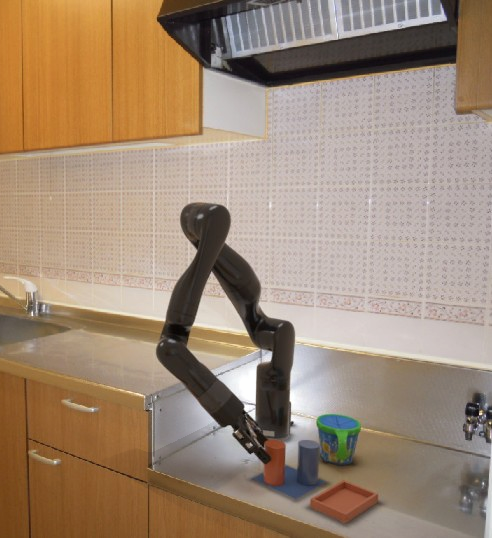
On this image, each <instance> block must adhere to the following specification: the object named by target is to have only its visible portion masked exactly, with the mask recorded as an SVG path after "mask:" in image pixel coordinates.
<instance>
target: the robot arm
mask: <svg viewBox="0 0 492 538" xmlns="http://www.w3.org/2000/svg"><path fill="white" fill-rule="evenodd" d="M179 225H180V228H181V231H182V233H183V235H184V236H185V237H186V239H187V240H188V241H189V242H190V243H191V245H192V246H193V248H194V249H195V250H196V253H195V255H194V257H193V259H192V261H191V263H190V264H189V265H188V267H187V268H186V269H185V270H184V271H183V273H182V274H181V276H180V277H179V278H178V280H177V281H176V283H175V284H174V286H173V289H172V291H171V294H170V298H169V301H168V304H167V309H166V313H165V321H164V323H163V326H162V329H161V332H160V336H159V338H158V341H157V344H156V348H155V356H156V359H157V360H158V362H159V363H160V364H161V365H162V366H163V367H164V368H165V369H166V370H167V371H168V372H169V373H170V374H171V375H172V376H173V377H174V378H176V380H178V381H179V382H180V383H181V385H183V386H184V388H185V389H186V390H187V391H188V392H189V393H190V394H191V395H192V396H193V397H194V398H195V399H196V401H197V403H199V405H200V406H201V407H202V408H203V409H204V410H205V412H206V413H207V414H208V415H209V416H210V417H211V418H212V419H213V420H214V421H215V422H216V423H217V424H218V425H219V427H220V428H227V427H228V426H230V427H231V429H232V431H233V432H232V433H231V436H232V437H233V438H234V439H235V440H236V442H238V444H239V445H241V447H242V448H243V449H244V450H245V452H247V454H249V455H253V454H254V455H255V457H257V458H258V460H260V462H261V464H263V465H264V464H267V463H269V462H270V461H271V456H270V455H269V454H268V453H267V452H266V451H265V450H264V443H265V441H267V440H279V441H282V442H284V441H288V439H289V438H290V435H291V428H292V427H291V426H293V425H294V423H295V422H294V421H293V420H292V402H291V376H292V370H293V365H294V357H295V348H296V347H295V346H296V329H295V327H294V325H293V323H292V322H291V321H289V320H286V319H281V318H276V317H270V316H268V315H267V314H266V313H265V312H264V311H263V309H262V308H261V306H260V300H261V296H262V283H261V281H260V279H259V277H258V275H257V274H256V272H255V270H254V268H253V267H252V266H251V264H250V262H249V261H247V259H245V257H243V256H242V255H241V254H239V252H238V251H236V250H235V249H234V248H232V247H231V246H230V245H229V244H227V242H226V240H227V239H228V236H229V233H230V230H231V226H232V215H231V213H230V211H229V209H228V208H227V207H226V206H225V205H223V204H220V203H211V202H200V201H196V202H190V203H187V204H186V205H185V206H184V207H183V208H182V209H181V212H180V215H179ZM211 273H212V274H213V276H214V277H215V279H216V280H217V282H218V284H219V286H220V287H221V290H222V291H223V292H224V294H225V295H226V297H227V298H228V300H229V301H230V303H231V305H232V306H233V308H234V309H235V311H236V313H237V314H238V316H239V318H240V319H241V322H242V324H243V326H244V328H245V330H246V333H247V334H248V336H249V339H250V341H251V342H252V344H253V345H254V346H255V347H256V348H258V349H259V350H263V351H266V352H271V358H270V360H268V361H263V362H259V363H258V364H257V365H256V372H255V373H256V374H255V405H254V406H255V408H254V409H255V410H254V411H255V413H254V418H253V417H252V416H251V415H250V414H249V413H248V412H247V410H246V409H245V404H244V403H243V402H242V401H241V400H240V399H239V397H238V396H237V395H236V394H235V393H234V392H233V391H232V390H231V389H230V388H229V386H227V384H226V383H224V382H223V381H222V380H221V379H220V378H219V377H217V376H216V375H215V374H214V372H212V371H211V369H210V368H209V367H208V366H206V365H205V364H204V362H201V361H200V360H199V359H198V358H197V357H196V356H195V355H194V353H192V352H191V350H190V349H189V348H188V343H189V339H190V334H191V332H192V331H191V330H192V328H193V326H194V323H195V321H196V318H197V315H198V311H199V307H200V304H201V301H202V297H203V293H204V291H205V288H206V285H207V283H208V280H209V278H210V276H211Z"/></svg>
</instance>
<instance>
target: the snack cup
mask: <svg viewBox="0 0 492 538" xmlns="http://www.w3.org/2000/svg"><path fill="white" fill-rule="evenodd" d="M315 422H316V423H315V424H316V428H317V431H318V443H319V445H320V457H321V458H322V459H323V461H324V462H325V463H329V464H331V465H336V466H347V465H349V464H352V463H353V460H354V456H355V452H356V447H357V444H358V439H359V438H358V437H359V433H361V430H362V429H361V428H362V424H361V422H360V421H359V420H358V419H355V418H354V417H351V416H349V415H344V414H337V413H325V414H320V415H319V416H318V417H316V420H315Z"/></svg>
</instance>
